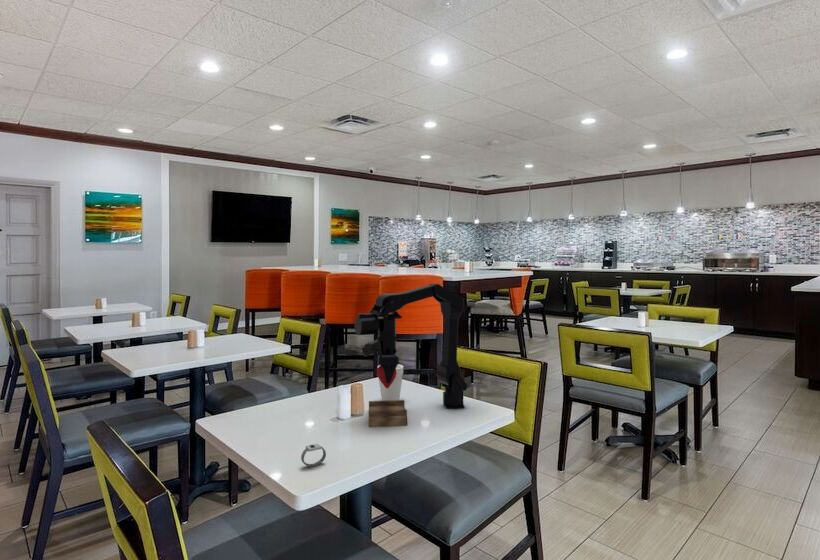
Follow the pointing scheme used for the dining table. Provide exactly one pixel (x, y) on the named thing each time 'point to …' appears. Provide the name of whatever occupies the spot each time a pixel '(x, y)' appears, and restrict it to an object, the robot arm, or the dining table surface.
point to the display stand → (387, 413)
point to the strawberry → (382, 377)
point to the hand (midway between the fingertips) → (387, 380)
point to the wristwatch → (312, 448)
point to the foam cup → (392, 386)
